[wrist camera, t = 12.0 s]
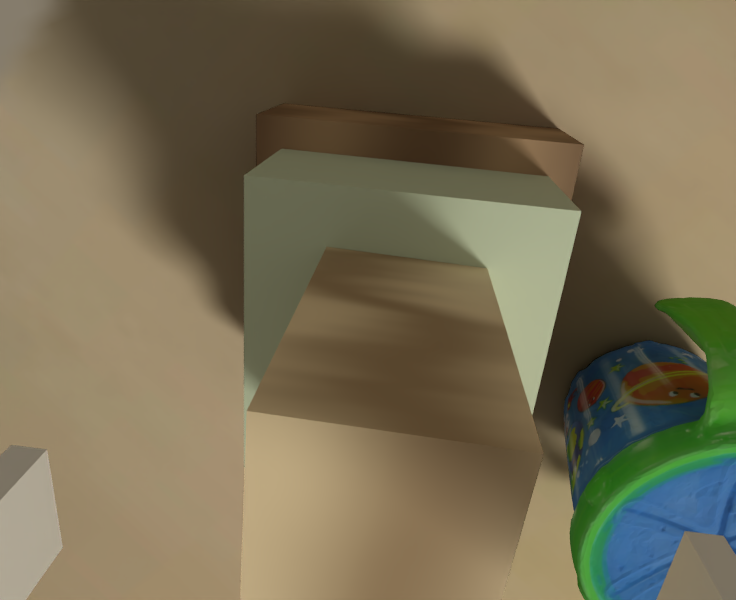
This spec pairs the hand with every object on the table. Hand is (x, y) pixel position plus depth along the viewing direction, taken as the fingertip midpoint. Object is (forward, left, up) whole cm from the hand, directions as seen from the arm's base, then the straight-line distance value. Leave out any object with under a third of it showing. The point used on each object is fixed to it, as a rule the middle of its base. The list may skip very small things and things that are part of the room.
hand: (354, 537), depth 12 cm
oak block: (0, 0, -8) cm, 8 cm away
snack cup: (+13, -6, -18) cm, 23 cm away
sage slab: (0, 0, -13) cm, 13 cm away
